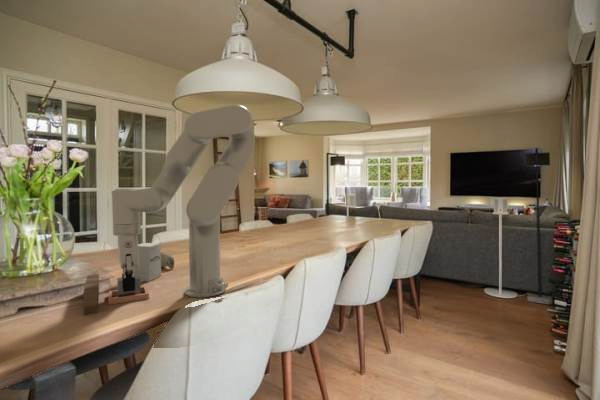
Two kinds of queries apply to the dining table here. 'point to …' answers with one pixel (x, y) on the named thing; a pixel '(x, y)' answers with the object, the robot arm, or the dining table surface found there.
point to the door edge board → (91, 294)
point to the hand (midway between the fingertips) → (128, 287)
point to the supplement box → (148, 261)
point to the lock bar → (135, 292)
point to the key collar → (128, 298)
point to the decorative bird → (167, 260)
